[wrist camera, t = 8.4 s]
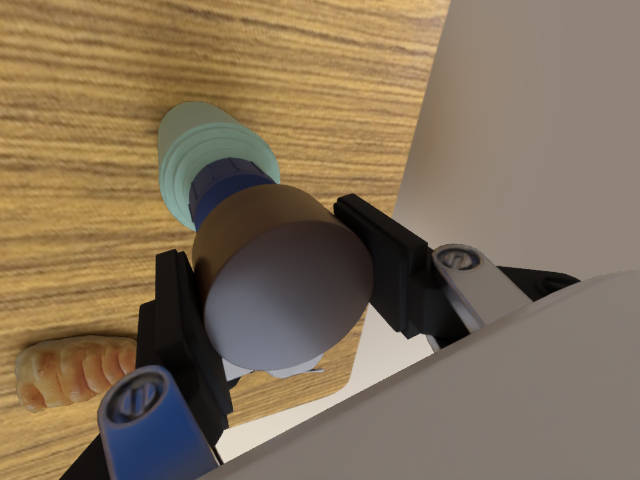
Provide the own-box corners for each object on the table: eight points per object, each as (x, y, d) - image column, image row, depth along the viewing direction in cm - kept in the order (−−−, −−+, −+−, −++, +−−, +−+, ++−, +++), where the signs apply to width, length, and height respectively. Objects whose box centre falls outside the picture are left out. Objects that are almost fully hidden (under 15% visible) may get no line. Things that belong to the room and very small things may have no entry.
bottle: (139, 146, 24) (123, 232, 12) (192, 81, 24) (232, 102, 12) (208, 195, 28) (249, 298, 16) (255, 140, 28) (335, 202, 15)
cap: (169, 205, 14) (172, 231, 12) (226, 138, 14) (239, 152, 12) (237, 248, 17) (250, 275, 15) (287, 191, 17) (307, 211, 14)
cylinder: (157, 272, 10) (156, 339, 7) (262, 150, 9) (298, 179, 7) (271, 327, 13) (297, 387, 10) (355, 235, 12) (401, 276, 10)
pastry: (138, 318, 31) (137, 346, 28) (151, 366, 34) (150, 396, 31) (13, 344, 27) (-5, 380, 24) (40, 395, 30) (27, 433, 27)
